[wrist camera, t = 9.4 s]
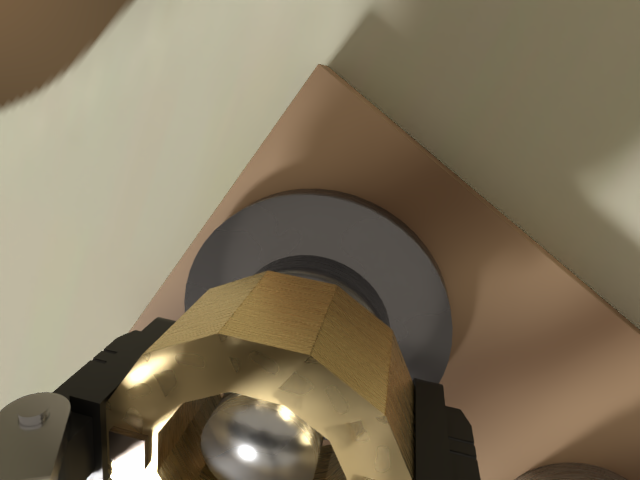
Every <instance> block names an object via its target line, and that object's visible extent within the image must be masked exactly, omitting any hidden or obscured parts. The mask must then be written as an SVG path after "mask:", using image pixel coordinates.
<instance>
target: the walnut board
mask: <svg viewBox="0 0 640 480" xmlns="http://www.w3.org/2000/svg"><path fill="white" fill-rule="evenodd" d="M296 189H326V190H335V191H339V192H343V193H347V194H351V195H355V196H358V197H360V198H363V199H365V200H368V201H370V202H373V203H374V204H376V205H378V206H380V207H382V208H384V209H385V210H387V211H389V212H390V213H392V214H393V215H394V216H396V217H397V218H398V219H400V220H401V221H403V222H404V223H405V224H406V225H407V226H408V227H409V228H410V229H411V230H412V231H413V232H414V233H415V234H416V235H417V236H418V237H419V238H420V239H421V241H422V242H423V243H424V244H425V246H426V247H427V248H428V250H429V251H430V253H431V255H432V256H433V258H434V260H435V261H436V263H437V265H438V267H439V269H440V272H441V274H442V276H443V279H444V282H445V285H446V289H447V293H448V297H449V303H450V309H451V317H452V326H453V331H452V347H451V352H450V357H449V361H448V364H447V367H446V369H445V372H444V375H443V377H442V379H441V380H440V382H439V384H442V385H443V388H444V398H445V406H449V407H453V408H457V409H461V410H462V412H463V414H464V415H465V417H466V418H467V420H468V421H469V423H470V424H471V426H472V431H473V437H474V446H475V449H476V455H477V458H476V460H477V461H478V467H479V473H480V479H481V480H514V479H516V478H517V477H518V476H520V475H522V474H524V473H525V472H527V471H530V470H532V469H534V468H538V467H541V466H544V465H549V464H555V463H583V464H589V465H595V466H598V467H602V468H605V469H608V470H610V471H613V472H615V473H617V474H619V475H621V476H622V477H624V478H626V479H627V480H640V330H639V329H638V328H637V327H636V326H635V325H633V324H632V323H631V322H630V321H629V320H627V319H626V318H625V317H624V316H623V315H621V314H620V313H619V312H618V311H617V310H616V309H614V308H613V307H612V306H611V305H610V304H608V303H607V302H606V301H605V300H604V299H603V298H601V297H600V296H599V295H598V294H597V293H595V292H594V291H593V290H592V289H591V288H590V287H588V286H587V285H586V284H585V283H584V282H582V281H581V280H580V279H579V278H578V277H576V276H575V275H574V274H573V273H572V272H571V271H569V270H568V269H567V268H566V267H565V266H563V265H562V264H561V263H560V262H559V261H558V260H556V259H555V258H554V257H553V256H552V255H550V254H549V253H548V252H547V251H546V250H545V249H543V248H542V247H541V246H540V245H539V244H537V243H536V242H535V241H534V240H533V239H531V238H530V237H529V236H528V235H527V234H526V233H524V232H523V231H522V230H521V229H520V228H518V227H517V226H516V225H515V224H514V223H513V222H511V221H510V220H509V219H508V218H507V217H505V216H504V215H503V214H502V213H501V212H500V211H498V210H497V209H496V208H495V207H494V206H492V205H491V204H490V203H489V202H488V201H487V200H485V199H484V198H483V197H482V196H481V195H479V194H478V193H477V192H476V191H475V190H473V189H472V188H471V187H470V186H469V185H468V184H466V183H465V182H464V181H463V180H462V179H460V178H459V177H458V176H457V175H456V174H455V173H453V172H452V171H451V170H450V169H449V168H447V167H446V166H445V165H444V164H443V163H442V162H440V161H439V160H438V159H437V158H436V157H434V156H433V155H432V154H431V153H430V152H428V151H427V150H426V149H425V148H424V147H423V146H421V145H420V144H419V143H418V142H417V141H415V140H414V139H413V138H412V137H411V136H410V135H408V134H407V133H406V132H405V131H404V130H402V129H401V128H400V127H399V126H398V125H397V124H395V123H394V122H393V121H392V120H391V119H389V118H388V117H387V116H386V115H385V114H384V113H382V112H381V111H380V110H379V109H378V108H376V107H375V106H374V105H373V104H372V103H370V102H369V101H368V100H367V99H366V98H365V97H363V96H362V95H361V94H360V93H359V92H357V91H356V90H355V89H354V88H353V87H352V86H350V85H349V84H348V83H347V82H346V81H344V80H343V79H342V78H341V77H340V76H339V75H337V74H336V73H335V72H334V71H333V70H331V69H330V68H329V67H328V66H324V65H321V64H318V65H317V67H316V68H315V70H314V71H313V73H312V74H311V75H310V77H309V78H308V80H307V81H306V82H305V84H304V85H303V87H302V88H301V90H300V91H299V92H298V94H297V95H296V97H295V98H294V99H293V101H292V102H291V104H290V105H289V106H288V108H287V109H286V111H285V112H284V114H283V115H282V116H281V118H280V119H279V121H278V122H277V123H276V125H275V126H274V128H273V129H272V131H271V132H270V133H269V135H268V136H267V138H266V139H265V140H264V142H263V143H262V145H261V146H260V147H259V149H258V150H257V152H256V153H255V155H254V156H253V157H252V159H251V160H250V162H249V163H248V164H247V166H246V167H245V169H244V170H243V172H242V173H241V174H240V176H239V177H238V179H237V180H236V181H235V183H234V184H233V186H232V187H231V188H230V190H229V191H228V193H227V194H226V196H225V197H224V198H223V200H222V201H221V203H220V204H219V205H218V207H217V208H216V210H215V211H214V213H213V214H212V215H211V217H210V218H209V220H208V221H207V222H206V224H205V225H204V227H203V228H202V229H201V231H200V232H199V234H198V235H197V237H196V238H195V239H194V241H193V242H192V244H191V245H190V246H189V248H188V249H187V251H186V252H185V253H184V255H183V256H182V258H181V259H180V261H179V262H178V263H177V265H176V266H175V268H174V269H173V270H172V272H171V273H170V275H169V276H168V278H167V279H166V280H165V282H164V283H163V285H162V286H161V287H160V289H159V290H158V292H157V293H156V294H155V296H154V297H153V299H152V300H151V302H150V303H149V304H148V306H147V307H146V309H145V310H144V311H143V313H142V314H141V316H140V317H139V319H138V320H137V321H136V323H135V324H134V326H133V327H132V328H131V330H130V331H129V332H132V331H134V330H138V331H142V330H143V329H144V328H145V327H146V326H148V325H149V324H150V323H151V322H152V321H153V320H154V319H156V318H157V317H161V318H165V319H170V320H174V321H177V320H178V319H179V318H180V317H181V316H182V315H183V314H184V313H185V305H184V299H185V289H186V283H187V279H188V275H189V271H190V269H191V266H192V264H193V261H194V259H195V257H196V255H197V253H198V252H199V250H200V248H201V247H202V245H203V243H204V242H205V241H206V240H207V239H208V237H209V236H210V235H211V234H212V233H213V231H214V230H215V229H217V228H218V227H219V226H220V225H221V224H222V223H223V222H225V221H226V220H227V219H228V218H230V217H231V216H233V215H234V214H236V213H237V212H238V211H240V210H242V209H243V208H245V207H246V206H248V205H249V204H251V203H253V202H255V201H257V200H259V199H262V198H264V197H266V196H269V195H272V194H276V193H279V192H283V191H289V190H296ZM223 395H224V394H220V396H221V398H222V397H223ZM330 444H331V443H330V441H329V440H323V443H322V446H324V445H330Z"/></svg>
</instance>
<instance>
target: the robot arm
mask: <svg viewBox="0 0 640 480" xmlns="http://www.w3.org/2000/svg"><path fill="white" fill-rule="evenodd" d="M175 322H176V321H174V320H170V319H165V318H161V317H157V318H156V319H154V320H153V321H152V322H151V323H150V324H149V325H148V326H146V327H145V328H144V329H143V330H142V331H138V330H134V331H132V332H129V333H127V334H125V335H123V336H120V337H118V338H116V339H115V340H114V341H113V342H112V343H111V344H109V345H108V346H107V347H106V348H105V349H104V351H101V352H100V353H99V354H98V355H96V356H95V357H94V358H93V360H92V361H91V360H90V361H89V362H88V363H87V364H86V365H84V366H83V367H82V368H81V369H80V370H79V371H77V372H76V373H75V374H74V375H73V376H71V377H70V378H69V379H68V380H67V381H66V382H64V383H63V384H62V385H61V386H60V387H58V388H57V389H56V390H55V391H54V392H53V393H50V392H42V393H35V394H30V395H27V396H24V397H21V398H19V399H17V400H15V401H13V402H11V403H10V404H8V405H7V406H5V407H4V408H3V409H2V410H1V411H0V480H108V478H109V477H110V474H109V473H108V457H107V428H106V402H107V401H108V400H109V398H110V397H111V396H112V394H113V393H114V392H115V390H116V389H117V388H118V386H119V385H120V384H121V382H122V381H123V380H124V378H125V377H126V376H127V374H128V373H129V372H130V370H131V369H132V368H133V366H134V365H135V364H136V362H137V361H138V360H139V358H140V357H141V355H142V354H143V353H144V352H145V351H146V350H147V349H148V348H149V347H150V346H151V345H153V344H154V343H155V342H156V341H157V340H158V339H159V338H160V337H161V336H162V335H163V334H164V333H165V332H166V331H167V330H168V329H169V328H170V327H171V326H172V325H173V324H174V323H175ZM413 384H414V408H415V480H481V479H480V473H479V467H478V461H477V460H476V458H477V455H476V449H475V446H474V437H473V431H472V426H471V424H470V423H469V421H468V420H467V418H466V417H465V415H464V414H463V412H462V410H461V409H457V408H453V407H449V406H445V398H444V388H443V385H442V384H439V383H434V382H430V381H426V380H422V379H417V378H414V380H413Z"/></svg>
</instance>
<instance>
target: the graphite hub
mask: <svg viewBox="0 0 640 480" xmlns="http://www.w3.org/2000/svg"><path fill="white" fill-rule="evenodd" d="M268 270H269V271H273V272H278V273H283V274H287V275H292V276H297V277H302V278H306V279H311V280H316V281H320V282H325V283H330V284H335V285H338V286H339V287H340V288H342V289H343V290H344V291H345V292H346V293H348V294H349V295H350V296H351V297H353V298H354V299H355V300H356V301H358V302H359V303H360V304H361V305H362V306H364V307H365V308H366V309H367V310H369V311H370V312H371V313H372V314H374V315H375V316H376V317H377V318H378V319H380V320H381V321H382V322H383V323H385V324H386V325H387V326H388V327H390V328H391V329H392V330H393V332H394V335H395V337H396V340H397V343H398V345H399V348H400V350H401V353H402V355H403V358H404V361H405V363H406V366H407V368H408V371H409V374H410V376H411V379H412V381H413V380H414V378H417V379H422V380H426V381H430V382H434V383H439V382H440V380H441V379H442V377H443V375H444V372H445V369H446V367H447V364H448V361H449V357H450V352H451V347H452V331H453V326H452V317H451V309H450V303H449V297H448V293H447V289H446V285H445V282H444V279H443V276H442V274H441V272H440V269H439V267H438V265H437V263H436V261H435V260H434V258H433V256H432V255H431V253H430V251H429V250H428V248H427V247H426V246H425V244H424V243H423V242H422V241H421V239H420V238H419V237H418V236H417V235H416V234H415V233H414V232H413V231H412V230H411V229H410V228H409V227H408V226H407V225H406V224H405V223H404V222H403V221H401V220H400V219H398V218H397V217H396V216H394V215H393V214H392V213H390V212H389V211H387V210H385V209H384V208H382V207H380V206H378V205H376V204H374V203H373V202H370V201H368V200H365V199H363V198H360V197H358V196H355V195H351V194H347V193H343V192H339V191H335V190H326V189H296V190H289V191H283V192H279V193H276V194H272V195H269V196H266V197H264V198H262V199H259V200H257V201H255V202H253V203H251V204H249V205H248V206H246V207H245V208H243V209H242V210H240V211H238V212H237V213H236V214H234V215H233V216H231V217H230V218H228V219H227V220H226V221H225V222H223V223H222V224H221V225H220V226H219V227H218V228H217V229H215V230H214V231H213V233H212V234H211V235H210V236H209V237H208V239H207V240H206V241H205V242H204V243H203V245H202V247H201V248H200V250H199V252H198V253H197V255H196V257H195V259H194V261H193V264H192V266H191V269H190V271H189V275H188V279H187V283H186V289H185V299H184V305H185V312H186V311H187V310H188V309H189V308H190V307H191V306H192V305H193V304H194V303H195V302H196V301H197V300H198V299H199V298H200V297H201V296H202V295H204V294H205V293H206V292H207V291H208V290H209V289H211V288H214V287H217V286H220V285H224V284H227V283H230V282H233V281H236V280H239V279H243V278H246V277H249V276H252V275H255V274H258V273H262V272H265V271H268ZM223 394H224V395H223V397H222V399H221V400H220V402H219V403H218V405H217V407H216V408H215V410H214V411H213V413H212V415H211V416H210V418H209V420H208V421H207V423H206V425H205V426H204V428H203V431H202V435H201V450H202V454H203V458H204V460H205V462H206V464H207V466H208V468H209V469H210V471H211V472H212V473H213V475H214V476H215V477H216V478H217V479H218V480H313V478H314V474H315V470H316V466H317V463H318V459H319V455H320V451H321V447H322V443H323V440H328V439H326V438H325V437H324V436H323V435H321V434H320V433H319V432H317V431H316V430H315V429H314V428H312V427H311V426H310V425H309V424H307V423H306V422H305V421H304V420H302V419H301V418H300V417H298V416H297V415H296V414H295V413H293V412H292V411H291V410H290V409H288V408H287V407H286V406H284V405H280V404H276V403H272V402H268V401H264V400H260V399H256V398H252V397H248V396H244V395H241V394H237V393H233V392H227V393H223Z"/></svg>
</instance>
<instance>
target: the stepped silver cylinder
mask: <svg viewBox="0 0 640 480" xmlns="http://www.w3.org/2000/svg"><path fill="white" fill-rule="evenodd" d="M514 480H627V479H626V478H624V477H622V476H621V475H619V474H617V473H615V472H613V471H610V470H608V469H605V468H602V467H598V466H595V465H589V464H583V463H555V464H549V465H544V466H541V467H538V468H534V469H532V470H530V471H527V472H525V473H524V474H522V475H520V476H518V477H517V478H516V479H514Z"/></svg>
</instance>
